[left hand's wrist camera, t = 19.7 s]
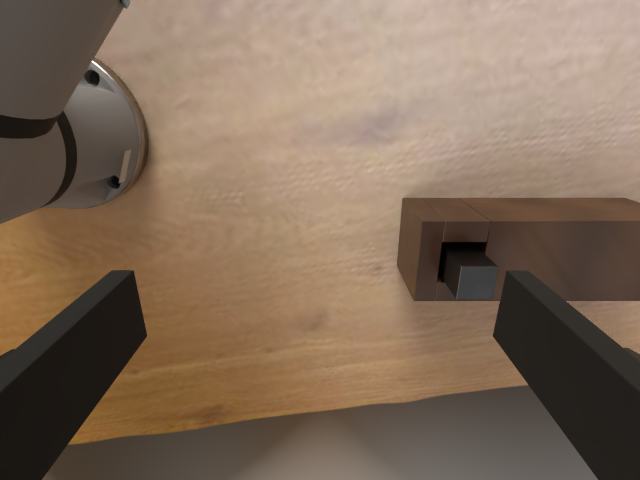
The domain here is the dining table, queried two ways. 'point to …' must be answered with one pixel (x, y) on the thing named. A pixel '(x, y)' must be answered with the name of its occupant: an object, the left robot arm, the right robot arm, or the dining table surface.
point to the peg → (467, 271)
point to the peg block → (527, 243)
